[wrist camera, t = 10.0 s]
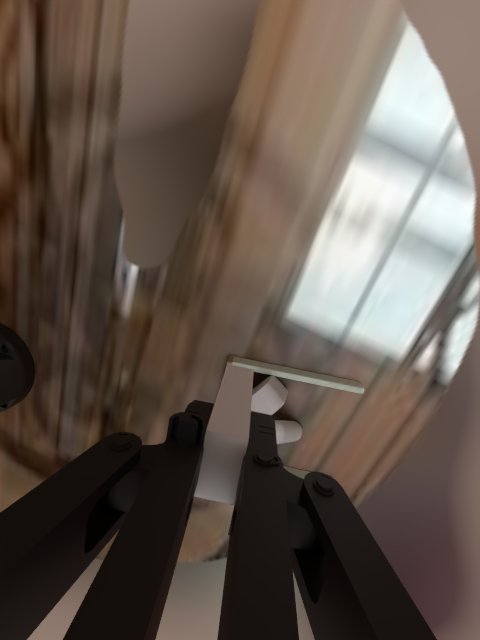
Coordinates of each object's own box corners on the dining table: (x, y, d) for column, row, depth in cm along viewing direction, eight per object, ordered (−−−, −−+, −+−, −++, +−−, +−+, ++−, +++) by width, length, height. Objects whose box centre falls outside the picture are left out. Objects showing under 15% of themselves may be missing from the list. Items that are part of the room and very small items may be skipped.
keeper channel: (210, 454, 50) (206, 467, 47) (228, 355, 47) (226, 361, 44) (330, 480, 50) (334, 494, 47) (359, 381, 46) (365, 390, 43)
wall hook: (279, 451, 49) (270, 486, 39) (238, 399, 50) (220, 420, 40) (319, 421, 47) (320, 450, 37) (275, 369, 48) (266, 383, 39)
